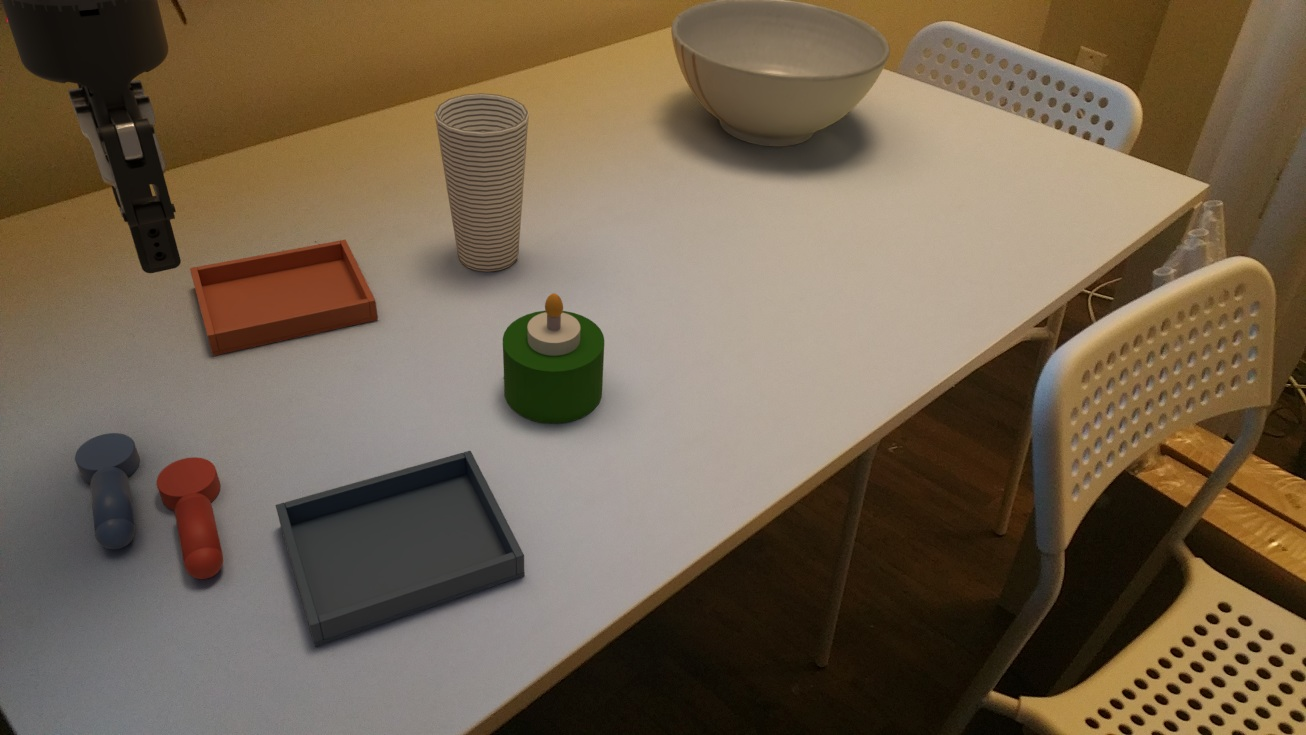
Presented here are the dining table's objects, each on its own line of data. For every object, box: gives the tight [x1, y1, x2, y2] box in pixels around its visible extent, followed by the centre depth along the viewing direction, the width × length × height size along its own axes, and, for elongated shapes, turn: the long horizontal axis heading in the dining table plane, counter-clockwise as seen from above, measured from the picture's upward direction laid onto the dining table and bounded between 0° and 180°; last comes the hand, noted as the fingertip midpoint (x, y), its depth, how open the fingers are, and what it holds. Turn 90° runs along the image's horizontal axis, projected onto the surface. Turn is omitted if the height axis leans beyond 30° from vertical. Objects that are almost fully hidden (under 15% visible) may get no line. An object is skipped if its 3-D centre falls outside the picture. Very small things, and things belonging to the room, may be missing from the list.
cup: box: [434, 92, 530, 273], centre depth 95 cm, size 8×8×16 cm
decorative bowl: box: [670, 0, 891, 147], centre depth 124 cm, size 27×27×12 cm
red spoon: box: [156, 456, 224, 580], centre depth 69 cm, size 11×4×2 cm, turn 27°
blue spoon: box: [74, 432, 141, 550], centre depth 70 cm, size 11×4×2 cm, turn 27°
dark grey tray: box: [275, 450, 526, 647], centre depth 69 cm, size 14×11×2 cm
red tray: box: [189, 239, 379, 357], centre depth 90 cm, size 14×11×2 cm
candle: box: [502, 292, 605, 425], centre depth 81 cm, size 8×8×10 cm
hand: (148, 235), depth 63 cm, fingers open, 8 cm apart
